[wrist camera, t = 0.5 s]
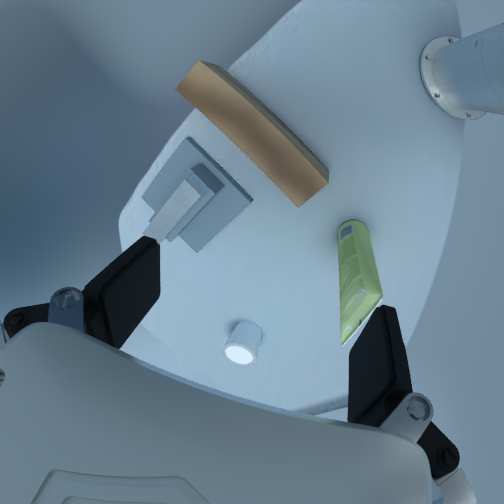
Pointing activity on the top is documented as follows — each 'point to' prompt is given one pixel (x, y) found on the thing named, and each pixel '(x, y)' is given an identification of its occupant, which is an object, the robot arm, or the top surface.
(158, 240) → the stand
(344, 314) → the tube
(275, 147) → the walnut bar
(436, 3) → the top surface
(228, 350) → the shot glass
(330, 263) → the top surface
